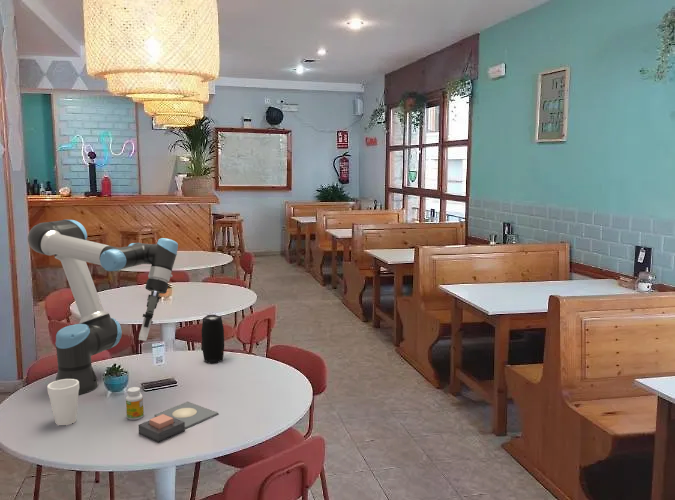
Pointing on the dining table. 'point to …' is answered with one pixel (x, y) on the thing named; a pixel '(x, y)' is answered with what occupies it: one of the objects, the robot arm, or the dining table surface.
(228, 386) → the dining table surface
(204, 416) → the slate board
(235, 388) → the dining table surface
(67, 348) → the robot arm
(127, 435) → the dining table surface
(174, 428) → the button housing
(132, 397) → the supplement bottle
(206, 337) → the portable speaker
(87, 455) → the dining table surface
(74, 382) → the foam cup
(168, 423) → the button
